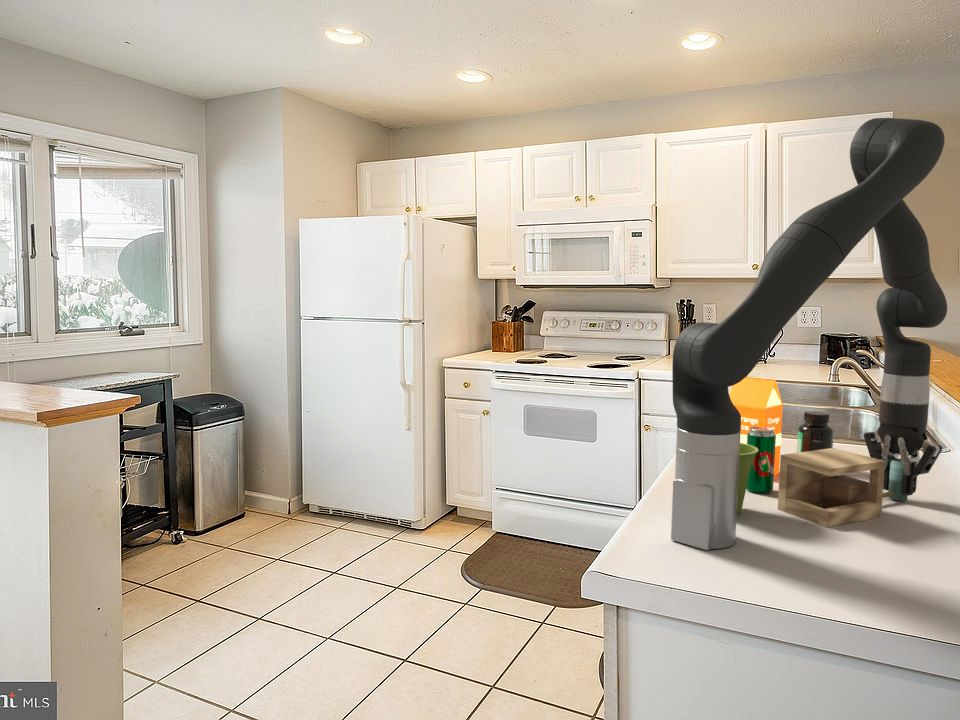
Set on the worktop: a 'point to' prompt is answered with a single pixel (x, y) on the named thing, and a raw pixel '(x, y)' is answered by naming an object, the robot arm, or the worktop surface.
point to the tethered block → (860, 487)
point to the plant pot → (744, 471)
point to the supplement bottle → (815, 432)
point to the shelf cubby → (806, 485)
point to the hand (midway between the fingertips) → (897, 491)
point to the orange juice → (759, 408)
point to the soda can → (762, 460)
